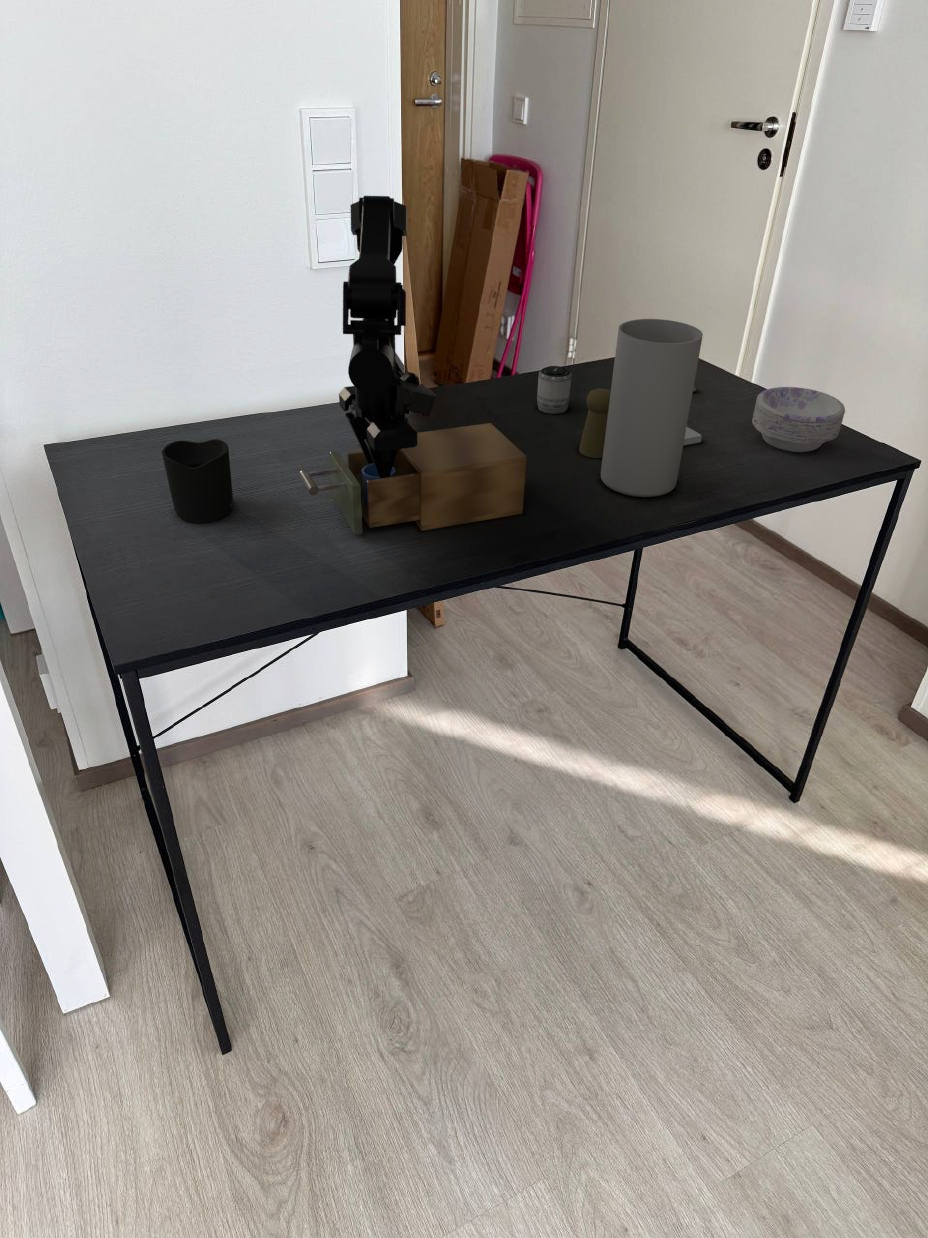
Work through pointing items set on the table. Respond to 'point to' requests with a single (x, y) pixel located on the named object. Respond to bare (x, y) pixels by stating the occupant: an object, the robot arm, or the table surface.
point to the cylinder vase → (649, 405)
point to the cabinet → (467, 475)
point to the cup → (370, 474)
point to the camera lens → (553, 389)
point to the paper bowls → (797, 418)
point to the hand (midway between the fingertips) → (378, 471)
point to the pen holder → (199, 479)
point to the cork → (595, 423)
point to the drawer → (370, 491)
